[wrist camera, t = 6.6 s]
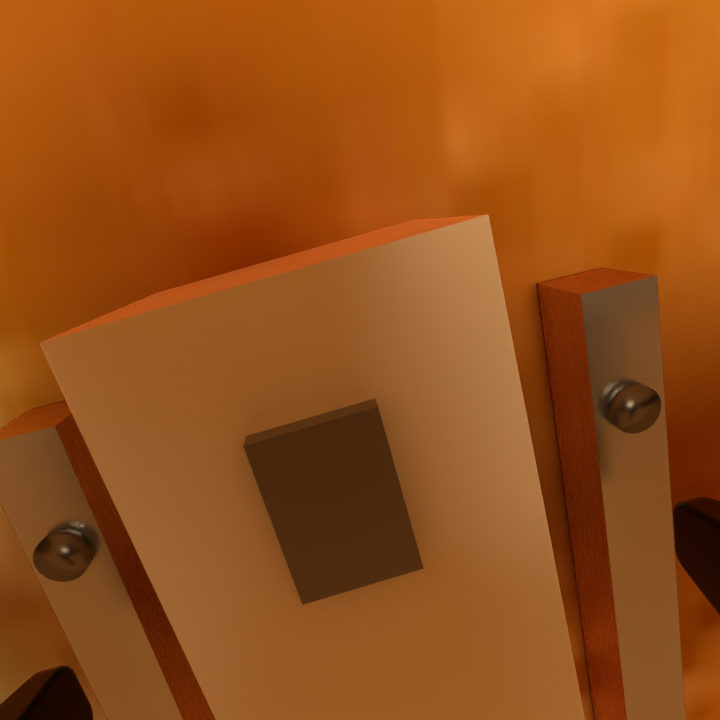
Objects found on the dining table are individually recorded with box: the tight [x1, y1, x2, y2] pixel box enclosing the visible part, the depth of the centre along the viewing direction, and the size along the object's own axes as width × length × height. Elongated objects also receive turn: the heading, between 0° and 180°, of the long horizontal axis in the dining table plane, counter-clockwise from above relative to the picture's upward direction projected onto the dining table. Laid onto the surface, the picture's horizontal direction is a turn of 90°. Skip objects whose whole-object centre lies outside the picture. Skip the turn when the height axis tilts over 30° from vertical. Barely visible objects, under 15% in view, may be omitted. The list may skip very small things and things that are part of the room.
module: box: [39, 214, 585, 720], centre depth 8 cm, size 4×9×4 cm, turn 16°
